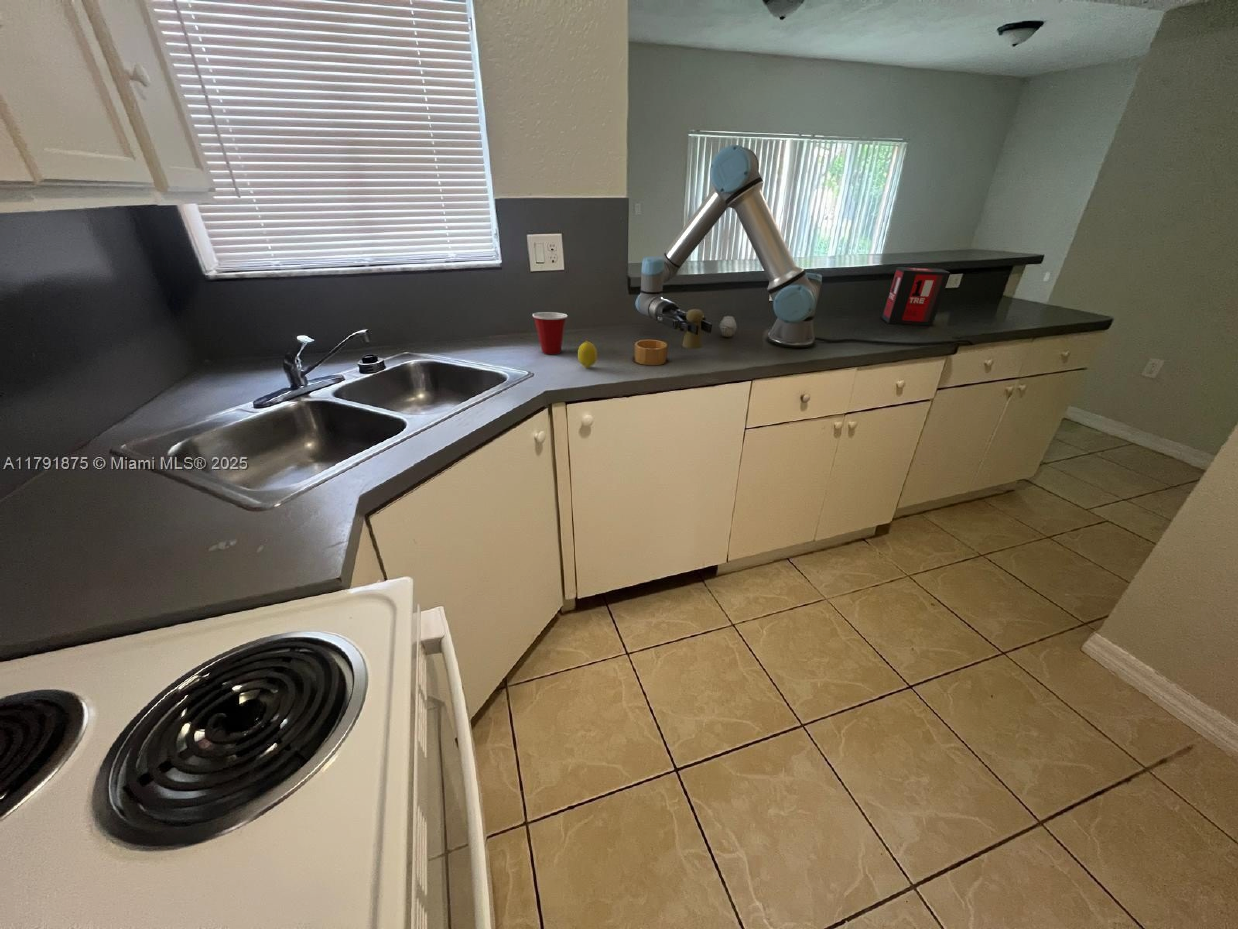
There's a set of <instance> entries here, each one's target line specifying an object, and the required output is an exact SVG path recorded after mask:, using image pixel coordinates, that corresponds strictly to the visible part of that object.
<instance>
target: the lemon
mask: <svg viewBox="0 0 1238 929" xmlns="http://www.w3.org/2000/svg"><path fill="white" fill-rule="evenodd" d="M597 358H598V353H597V348H596V346H595V345H594V344H593V343H592V342H590V341H588V340H586V341H584V342H583V343H581V344H580V345H579V347H578V350H577V359H578V362H579V363H580V364H581V365H582V366H583V367H585V368H586V369H589V368H590V367H591V366H593V365H595V363H596V362H597Z"/></svg>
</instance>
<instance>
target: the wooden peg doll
mask: <svg viewBox="0 0 1238 929" xmlns="http://www.w3.org/2000/svg"><path fill="white" fill-rule="evenodd" d="M703 317H705V316H704V312H703V310H700V309H698V308H697V309H696V308H695V309H693V308H692V309H689V310H688V311H687V314H686V318H687V320H688V321H689V322H692V323H694V324H696V325H699V329H698V335H695V334H693V333H691V332H689V331H687V330H684V331H685V332H684V337H683V340H682V347H684V348H686V349H691V350H692V349H696V350H697V349H701V348H702V347H703V340H702V339H703V338H702V330H701V321H702V320H703Z"/></svg>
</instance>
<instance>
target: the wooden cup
mask: <svg viewBox="0 0 1238 929" xmlns="http://www.w3.org/2000/svg"><path fill="white" fill-rule="evenodd" d="M668 347H669V346H668V343H667V342H665V341H663V340H658V339H640V340H638V341H636V342H635V344H634V361H635V363H637V364H641V365H644V366H660V365H664V364H665V363H666V362H667V358H668Z"/></svg>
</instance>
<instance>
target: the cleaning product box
mask: <svg viewBox="0 0 1238 929" xmlns="http://www.w3.org/2000/svg"><path fill="white" fill-rule="evenodd" d="M951 274H952V273H951V271H947V270H945V269H944V268H943V269H942V268H928V267H927V268H925V267H909V266H908V267H905V266H896V268H895V272H894V276H893V279H892V281H891V286H890V289H889V293H888V296H887V299H886V302H885V306H884V310H883V313H882V316H881V318H882V319H883V320H884V321H885V322H887V324H897V325H912V326H930V327H933V325H934V322H935V319H936V316H937V314H938V311H939V308H940V305H941V302H942V300H943V296H944V294H945V291H946V287H947V286H948V285H947V284H948V281H949V279H950V276H951Z"/></svg>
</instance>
